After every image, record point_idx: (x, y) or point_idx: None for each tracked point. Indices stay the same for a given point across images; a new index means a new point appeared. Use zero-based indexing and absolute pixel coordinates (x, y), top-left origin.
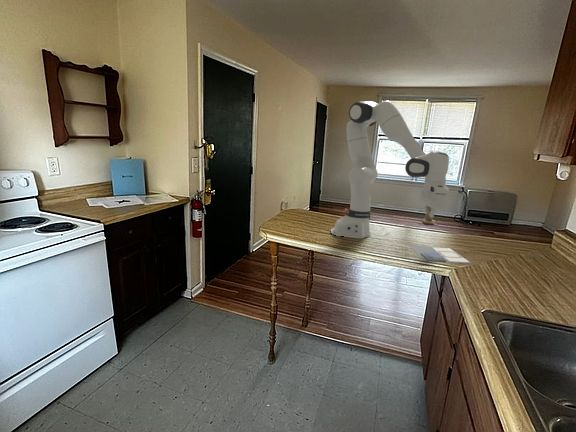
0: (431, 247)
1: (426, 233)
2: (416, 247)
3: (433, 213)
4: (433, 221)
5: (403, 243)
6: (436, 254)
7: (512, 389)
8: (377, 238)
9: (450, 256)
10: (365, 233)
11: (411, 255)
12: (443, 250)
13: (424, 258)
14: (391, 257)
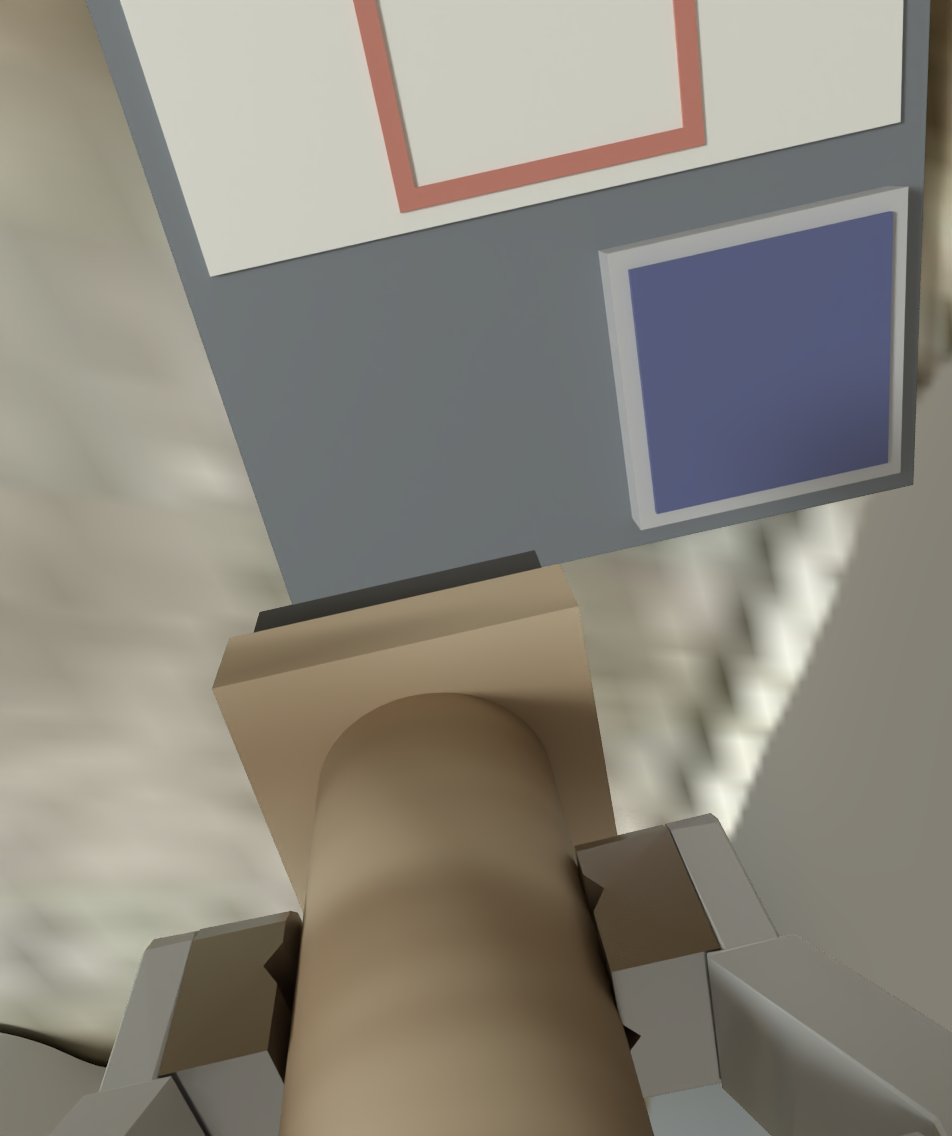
0: (194, 275)
1: None
2: (322, 537)
3: (813, 980)
4: (584, 653)
5: (57, 661)
6: (723, 311)
7: None
8: (19, 947)
9: (647, 18)
10: (56, 1110)
11: (593, 604)
12: (312, 66)
13: (811, 493)
14: (729, 810)
